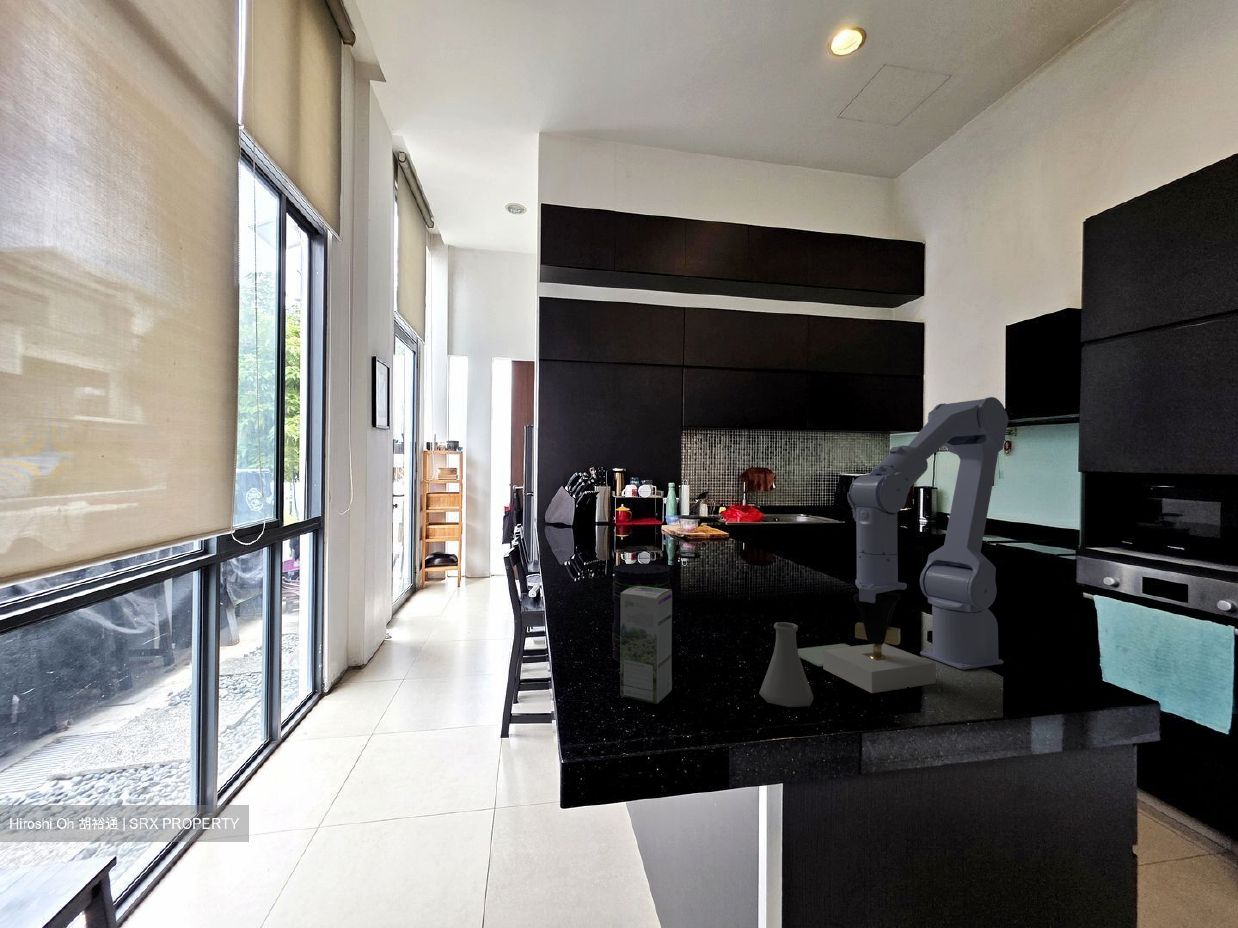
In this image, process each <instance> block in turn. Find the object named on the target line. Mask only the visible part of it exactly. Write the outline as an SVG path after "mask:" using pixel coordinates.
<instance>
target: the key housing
mask: <svg viewBox="0 0 1238 928" xmlns="http://www.w3.org/2000/svg"><path fill="white" fill-rule="evenodd" d="M869 654H873V643H870V644H862V645H853V646H851V647H844V648H835V649H827V650H823V666H822V667H823V670H825V671H827V672H829V673H831V674H833V675H835V676H837V677H839V678H840V679H843V680H845V681H847V682H848V683H850V684H853V685H854V686H856V687H859V688H860V689H863V690H865V691H867V692H869V693H870V694H875V693H876V694H877V693H882V692H889V691H895V690H901V689H908V688H907V687H909V688H914V687H915V688H916V687H921V686H926V685H934V684H936V683H937V664H936V662H934V661H932V660H929V659H926V658H924V657H921V656H918V655H916V654H912V653H911V652H908V651H905V650H902V649H900V648H897V647H894V646H891V645H889V644H888V643H883V645H882V655H884V656H886V660H879V661H877V660H875V659H872V658H870V657H869Z"/></svg>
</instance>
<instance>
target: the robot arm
mask: <svg viewBox="0 0 1238 928" xmlns="http://www.w3.org/2000/svg"><path fill="white" fill-rule="evenodd" d="M1008 424H1009V416H1008V414H1007V411H1006V409H1005V407H1004V404H1003V403H1002V402H1001V401H1000V399H998V398H997V397H994V396H990V397H989V396H988V397H985V398H982V399H974V400H966V401H958V402H952V403H951V402H949V403H945V402H944V403H939V404H936V406H934V408H933V409H932V410H931V411H928V415H927V422H926V424H925V425H924V426H923V427H922V428H921V430H919V432H918V433H917V434H916V436H915V437H914V438H912V440H911V441H910V443H909V444H908V445H899V446H892V448H891V449H889V451H888V452H889V454H888V455H887V456H886V457H884V458H883V460H882V461H881V462H879V464H877V465H875V466H874V467H873V468H872V470H871V471H870V472H869V473H868V475H859V476H858V477H857V478H856V479H854V480H853V481H852V483H851V484H850V486H849V491H848V492H847V493H846V496H847V501H848V504H849V506H850V507H851V508H852V519H854V521H855V522H856V523H855V524H856V579H855V582H854V584H855V586H856V588H857V589H859V590H858V593H855V594H854V595H853V602H854V603H855V606H856V607H857V609H858V611H859V614H860V616H861V619H862V623H863V624H864V628H865V633H866V637H867V640H866V641H867V642H868V643H870V644H873V643H874V644H880V645H883V643H884V640H885V636H886V630H887V627H891V622H892V618H893V613H894V612H895V608H896V606H897V604H898V602H899V600H900V598H901V593H898V592H894V591H896V590H902V591H903V590H906V589H907V588H908V587H907V586H908V585H907V583H906V582H900V581H899V578H898V577H899V574H898V573H899V572H898V569H899V567H898V565H899V564H898V563H899V562H898V560H899V559H898V512H899V511H901V510H903V509H904V507H905V505H906V503H907V501H908V500H907V499H908V494H909V493H910V490H911V487H912V486H913V485H914V484H915V483H916V482H917V481H918V480H919V479H920V478H921V477H922V476H923V474H925V472H927V470H928V466H929V465H928V459H929V458H931V456H933V455H934V454H935V453H936V452H937V451H938V450H940V449H941V448H942V447H943V446H945V448H946V449H947V450H948V451H949V453H951V454H955V455H957V457H958V458H959V464H958V465H959V467H958V471H957V475H956V476H957V477H956V481H955V482H956V483H955V486H954V490H953V491H954V493H953V495H952V503H951V507H950V513H949V516H948V517H949V518H948V522H947V527H946V533H945V539H944V545H942V546H940V547H939V548H937V549H936V550H934V551H932V552H931V553H929V554H928V557H927V562H926V564H925V566H924V568H922V571H921V572H920V576H919V577H920V578H919V586H920V589H921V591H922V594H923V595H924V597H926V598H927V603H928V604H930V605H932V607H931V610H932V611H931V614H932V617H931V618H932V621H931V622H932V624H931V625H932V649H929V650H928V649H927V650H921V651H920V652H919V655H921V656H924V657H927V658H930V659H932V660H935V661H938V662H940V663H942V664H946V665H949V666H951V667H954V668H956V669H959V670H970V669H977V668H982V667H990V666H996V665H1002V664H1004V662H1005V661H1004V660H1002V659H999V625H998V621H997V618H996V616H995V615H994V613H993V612H992V611H991V610H990V609H989V608H990V607H991V605H993V603H994V602H995V600H996V597H997V583H996V574H997V573H996V572H997V568H996V566H995V565H994V563H993V562H991V561H990V560H989V559H988V558H987V557H986V556H985V555H984V554H983V553H982V551H981V550H982V545H983V541H984V535H985V530H986V524H987V518H988V513H989V507H990V506H989V505H990V503H991V495H992V492H993V485H994V479H995V473H996V468H997V463H998V457H999V453H1000V451H1002V450H1004V446H1005V445H1004V444H1005V440H1006V434H1007V429H1008ZM884 644H885V643H884Z"/></svg>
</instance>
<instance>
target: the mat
mask: <svg viewBox="0 0 1238 928" xmlns="http://www.w3.org/2000/svg"><path fill="white" fill-rule="evenodd" d="M844 647H852V646H851V645H850V644H849V645H848V644H847V643H837V644H829V645H821V646H811V647H810V646H809V647H803V648H797V649H798V654H799V657H800V659H802V660H805V661H807V662H809V664H813V665H815V666H817V667H823V650H827V649H835V648H844Z"/></svg>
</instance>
